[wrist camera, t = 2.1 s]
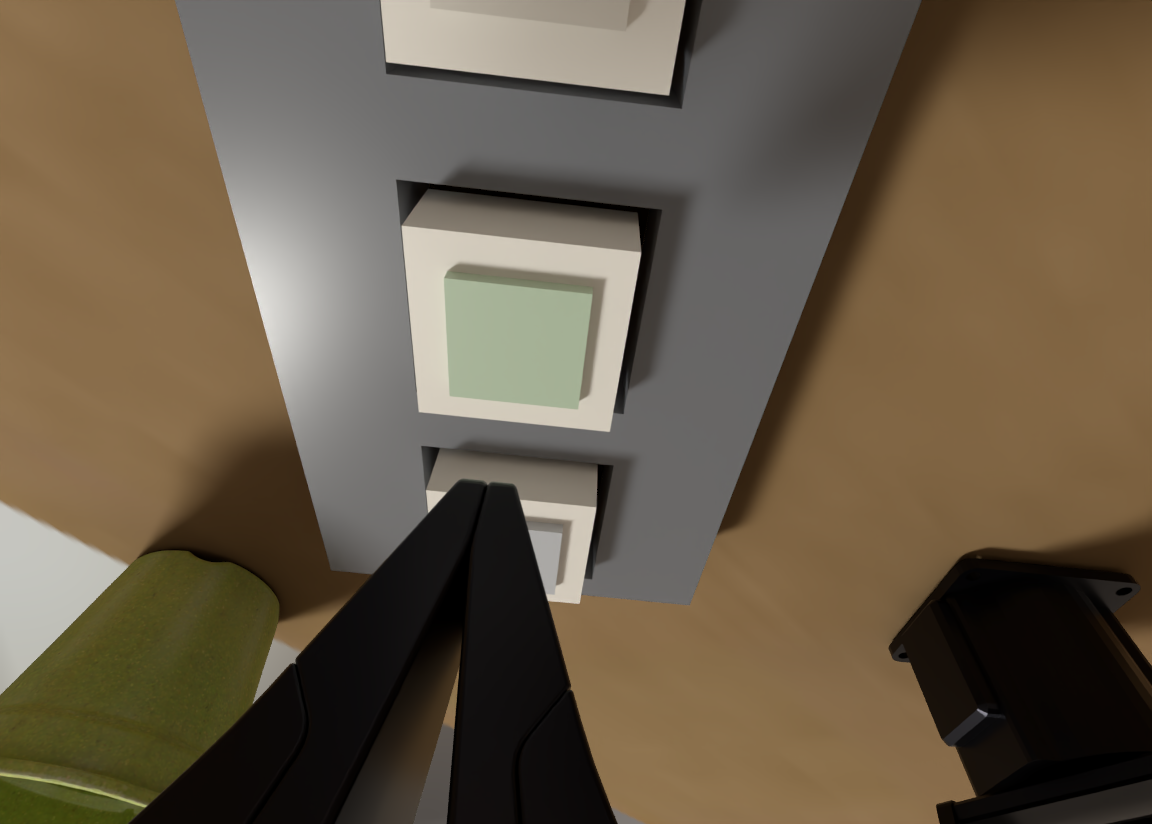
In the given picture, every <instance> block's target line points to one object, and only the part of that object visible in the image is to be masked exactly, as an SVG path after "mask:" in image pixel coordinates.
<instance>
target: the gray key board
mask: <svg viewBox="0 0 1152 824" xmlns="http://www.w3.org/2000/svg"><path fill="white" fill-rule="evenodd" d="M921 1H922V0H686V2H685V7H684V13H683V19H682V24H681V30H680V36H679V41H678V47H677V53H676V58H675V64H674V70H673V75H672V81H671V87H670V92H669V95H660V94H652V93H643V92H635V91H626V90H618V89H609V88H601V87H592V86H584V85H575V84H567V83H559V82H550V81H542V80H533V79H525V78H516V77H508V76H499V75H491V74H482V73H474V72H465V71H457V70H448V69H440V68H432V67H423V66H415V65H406V64H398V63H389V62H386V54H385V43H384V32H383V22H382V11H381V0H175V2H176V6H177V9H178V13H179V17H180V20H181V24H182V28H183V31H184V35H185V39H186V42H187V46H188V49H189V53H190V57H191V60H192V64H193V68H194V71H195V75H196V79H197V82H198V86H199V90H200V93H201V97H202V101H203V104H204V108H205V111H206V115H207V119H208V122H209V126H210V130H211V133H212V137H213V141H214V144H215V148H216V152H217V155H218V159H219V163H220V166H221V170H222V174H223V177H224V181H225V184H226V188H227V192H228V195H229V199H230V203H231V206H232V210H233V214H234V217H235V221H236V225H237V228H238V232H239V236H240V239H241V243H242V246H243V250H244V254H245V257H246V261H247V265H248V268H249V272H250V276H251V279H252V283H253V287H254V290H255V294H256V298H257V301H258V305H259V309H260V312H261V316H262V319H263V323H264V327H265V330H266V334H267V338H268V341H269V345H270V349H271V352H272V356H273V360H274V363H275V367H276V371H277V374H278V378H279V381H280V385H281V389H282V392H283V396H284V400H285V403H286V407H287V411H288V414H289V418H290V422H291V425H292V429H293V433H294V436H295V440H296V444H297V447H298V451H299V454H300V458H301V462H302V465H303V469H304V473H305V476H306V480H307V484H308V487H309V491H310V495H311V498H312V502H313V506H314V509H315V513H316V516H317V520H318V524H319V527H320V531H321V535H322V538H323V542H324V546H325V549H326V553H327V557H328V560H329V564H330V568H331V570H333V571H343V572H354V573H364V574H373V573H374V572H375V571H376V570H377V569H378V567H379V566H380V565H381V564H382V563H383V562H384V561H385V560H386V559H387V558H388V557H389V555H390V554H391V553H392V552H393V551H394V550H395V549H396V548H397V547H398V546H399V544H400V543H401V542H402V541H403V540H404V539H405V538H406V537H407V536H408V535H409V533H410V532H411V531H412V530H413V529H414V528H415V527H416V526H417V525H418V524H419V523H420V521H421V520H422V519H423V518H424V517H425V516H426V515H427V514H428V506H427V495H426V489H427V486H428V483H429V480H430V477H431V474H432V471H433V468H434V465H435V462H436V459H437V456H438V453H439V450H440V448H449V449H459V450H468V451H478V452H488V453H497V454H507V455H517V456H527V457H536V458H546V459H556V460H566V461H575V462H585V463H595V464H604V468H603V473H602V479H601V485H600V490H599V496H598V502H597V507H596V513H595V519H594V524H593V530H592V536H591V541H590V547H589V553H588V558H587V564H586V570H585V575H584V581H583V587H582V593H581V595H589V596H600V597H610V598H620V599H630V600H641V601H651V602H661V603H671V604H682V605H690V603H691V600H692V597H693V595H694V592H695V590H696V587H697V584H698V582H699V579H700V577H701V574H702V571H703V569H704V566H705V564H706V561H707V558H708V556H709V553H710V551H711V548H712V545H713V543H714V540H715V538H716V535H717V532H718V530H719V527H720V525H721V522H722V519H723V517H724V514H725V512H726V509H727V506H728V504H729V501H730V498H731V496H732V493H733V491H734V488H735V485H736V483H737V480H738V478H739V475H740V472H741V470H742V467H743V465H744V462H745V459H746V457H747V454H748V452H749V449H750V446H751V444H752V441H753V439H754V436H755V433H756V431H757V428H758V426H759V423H760V420H761V418H762V415H763V413H764V410H765V407H766V405H767V402H768V400H769V397H770V394H771V392H772V389H773V386H774V384H775V381H776V379H777V376H778V373H779V371H780V368H781V366H782V363H783V360H784V358H785V355H786V353H787V350H788V347H789V345H790V342H791V340H792V337H793V334H794V332H795V329H796V327H797V324H798V321H799V319H800V316H801V314H802V311H803V308H804V306H805V303H806V301H807V298H808V295H809V293H810V290H811V288H812V285H813V282H814V280H815V277H816V274H817V272H818V269H819V267H820V264H821V261H822V259H823V256H824V254H825V251H826V248H827V246H828V243H829V241H830V238H831V235H832V233H833V230H834V228H835V225H836V222H837V220H838V217H839V215H840V212H841V209H842V207H843V204H844V202H845V199H846V196H847V194H848V191H849V189H850V186H851V183H852V181H853V178H854V176H855V173H856V170H857V168H858V165H859V163H860V160H861V157H862V155H863V152H864V149H865V147H866V144H867V142H868V139H869V136H870V134H871V131H872V129H873V126H874V123H875V121H876V118H877V116H878V113H879V110H880V108H881V105H882V103H883V100H884V97H885V95H886V92H887V90H888V87H889V84H890V82H891V79H892V77H893V74H894V71H895V69H896V66H897V64H898V61H899V58H900V56H901V53H902V51H903V48H904V45H905V43H906V40H907V37H908V35H909V32H910V30H911V27H912V24H913V22H914V19H915V17H916V14H917V11H918V9H919V6H920V4H921ZM429 183H432V184H441V185H450V186H458V187H467V188H476V189H485V190H494V191H502V192H511V193H520V194H529V195H538V196H547V197H555V198H564V199H573V200H582V201H591V202H599V203H608V204H617V205H626V206H635V207H643V208H649V212H648V218H647V223H646V229H645V235H644V240H643V246H642V252H641V257H640V263H639V269H638V274H637V280H636V286H635V291H634V297H633V303H632V308H631V314H630V320H629V326H628V331H627V337H626V343H625V348H624V354H623V360H622V365H621V371H620V377H619V382H618V388H617V394H616V399H615V405H614V411H613V416H612V422H611V428H610V432H605V431H596V430H586V429H577V428H567V427H557V426H548V425H538V424H529V423H519V422H509V421H500V420H490V419H481V418H471V417H461V416H452V415H442V414H433V413H423V412H419V409H418V398H417V387H416V376H415V366H414V355H413V344H412V333H411V323H410V312H409V301H408V290H407V280H406V269H405V258H404V247H403V237H402V224H403V223H404V221H405V220H406V219H407V217H408V216H409V214H410V213H411V212H412V210H413V209H414V208H415V206H416V205H417V203H418V202H419V201H420V199H421V198H422V196H423V195H424V194H425V192H426V191H427V190H428V189H429Z"/></svg>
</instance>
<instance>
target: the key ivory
mask: <svg viewBox="0 0 1152 824" xmlns="http://www.w3.org/2000/svg"><path fill="white" fill-rule="evenodd" d="M685 1H686V0H381V11H382V22H383V32H384V43H385V54H386V62H389V63H398V64H406V65H415V66H423V67H432V68H440V69H448V70H457V71H465V72H474V73H482V74H491V75H499V76H508V77H516V78H525V79H533V80H542V81H550V82H559V83H567V84H575V85H584V86H592V87H601V88H609V89H618V90H626V91H635V92H643V93H652V94H660V95H669V92H670V87H671V81H672V75H673V70H674V64H675V58H676V53H677V47H678V41H679V35H680V30H681V24H682V18H683V13H684V7H685Z"/></svg>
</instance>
